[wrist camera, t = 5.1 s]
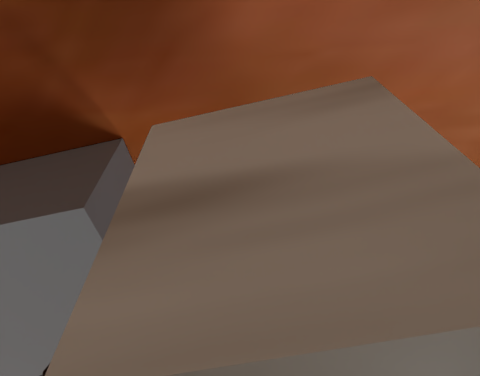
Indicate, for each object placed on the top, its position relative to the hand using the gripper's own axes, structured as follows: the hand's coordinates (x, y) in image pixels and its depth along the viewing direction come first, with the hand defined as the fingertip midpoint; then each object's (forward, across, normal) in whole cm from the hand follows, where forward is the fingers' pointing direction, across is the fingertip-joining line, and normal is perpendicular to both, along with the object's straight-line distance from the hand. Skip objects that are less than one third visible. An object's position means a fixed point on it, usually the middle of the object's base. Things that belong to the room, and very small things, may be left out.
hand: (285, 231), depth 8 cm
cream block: (+2, 0, 0) cm, 2 cm away
